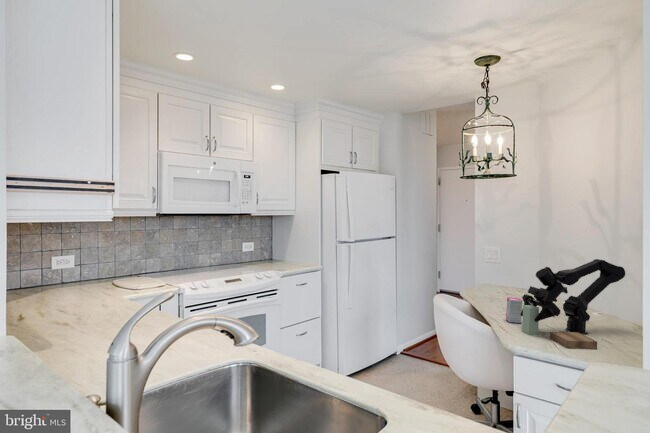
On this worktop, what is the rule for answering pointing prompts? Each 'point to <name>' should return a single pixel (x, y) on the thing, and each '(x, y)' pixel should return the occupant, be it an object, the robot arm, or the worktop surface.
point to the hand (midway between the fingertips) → (527, 318)
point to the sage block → (530, 320)
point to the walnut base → (573, 340)
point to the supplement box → (514, 310)
